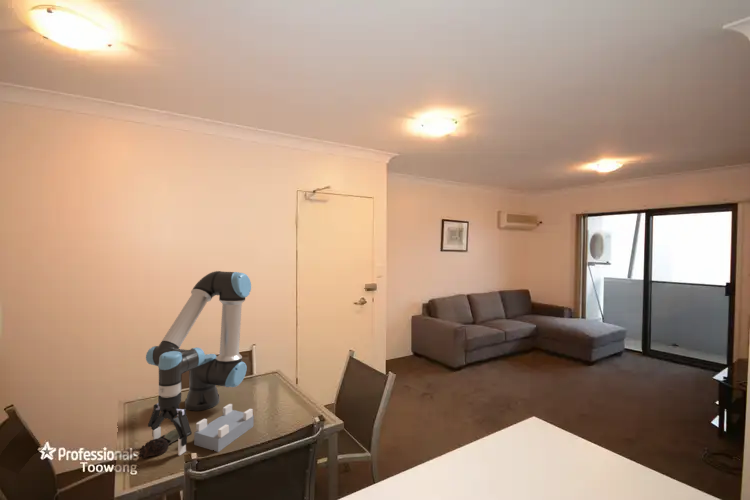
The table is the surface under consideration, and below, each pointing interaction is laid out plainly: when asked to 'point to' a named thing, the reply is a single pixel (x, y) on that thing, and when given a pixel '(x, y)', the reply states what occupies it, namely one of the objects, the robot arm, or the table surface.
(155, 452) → the brown lumpy club
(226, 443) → the grey block with tabs
